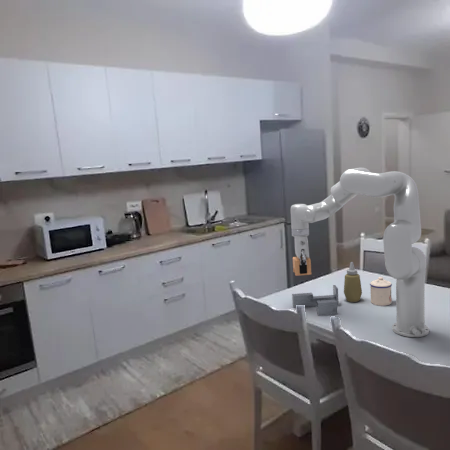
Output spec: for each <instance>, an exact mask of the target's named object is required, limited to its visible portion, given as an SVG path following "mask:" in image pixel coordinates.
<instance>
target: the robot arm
mask: <svg viewBox="0 0 450 450" xmlns="http://www.w3.org/2000/svg"><path fill="white" fill-rule="evenodd" d="M358 195H362V196H367V197H371V198H385V197H389V196H394V202H393V222H392V223H390V224H389V225H387V227H386V228H385V229H384V232H383V238H382V240H383V253H384V265H385V269H386V271H387V273H388V275H389V276H390V277H391V278H392V279H395V280H396V281H395V282H396V283H395V284H396V286H395V291H396V292H395V295H396V296H395V297H396V298H395V300H396V306H395V307H396V310H395V311H396V322H395V323H393V324H392V326H391V327H392V331H393V332H394V333H396V334H397V335H400V336H404V337H408V338H422V337H426V336H427V335H429V334H430V327H428V326H427V325H426V324H425V323H426V322H425V321H426V320H425V318H426V317H425V309H426V307H425V285H426V283H425V282H426V281H425V280H426V279H425V278H426V273H427V272H426V271H427V257H426V255H425V252H423V251H422V250H421V249H419V248H418V247H415V246H413V244H415V243H417V242H418V241H419V240H420V239H421V237H422V225H421V223H422V222H421V211H420V197H419V189H418V185H417V183H416V181H415V180H414V179H413V178H412V177H411V176H410V175H408V174H407V173H405V172H402V171H398V170H396V171H394V170H393V171H386V172H381V173H378V172H371V170H369V169H368V168H366V167H354V168H349V169H346V170H345V171H344V172H343V173H342V174H341V176H340V177H339V181H338V182H337V183H335V184H334V185H333V186H331V187H330V195H328V196H327V197H326V198H325V199H323V200H321V201H320V202H316V203H313V204H312V203H311V204H309V205H307V204H306V203H295V204H292V205H291V206H290V227H291V237H293V238H294V253H295V257H298V258H299V260H300V265H299V268H300V274H306V273H307V263H306V257H307V258H310V250H309V249H310V248H309V240H308V237H309V236H310V229H309V228H310V227H309V226H310V225H309V224H313V223H316V222H319V221H323V220H327V218H330V217H331V216H333V215H334V214H335V213H336V212H338V211H340V209H342V207H344V206H345V204H347V203H348V202H350V201H351V200H352V199H354V198H355V197H357V196H358ZM300 257H302V258H300ZM301 260H302V261H301Z"/></svg>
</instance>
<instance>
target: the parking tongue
mask: <svg viewBox="0 0 450 450" xmlns="http://www.w3.org/2000/svg"><path fill="white" fill-rule="evenodd" d="M316 313H317V315H318V316H332V315H333V316H334V315H338V306H337V301H336V300H321V301H317V306H316Z"/></svg>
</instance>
